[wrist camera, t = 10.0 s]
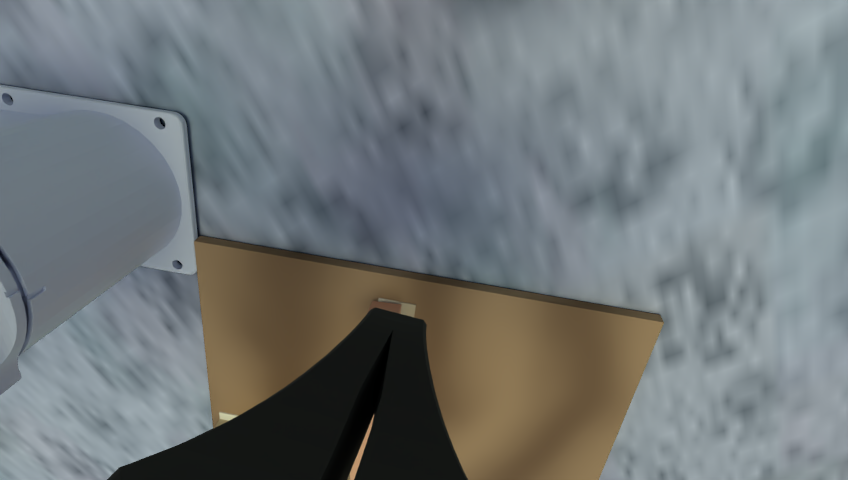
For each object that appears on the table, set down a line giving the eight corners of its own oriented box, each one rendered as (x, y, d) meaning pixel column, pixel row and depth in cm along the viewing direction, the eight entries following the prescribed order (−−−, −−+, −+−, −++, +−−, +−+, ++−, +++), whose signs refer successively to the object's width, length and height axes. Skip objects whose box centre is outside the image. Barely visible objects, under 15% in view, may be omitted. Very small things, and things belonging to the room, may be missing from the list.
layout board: (224, 481, 32) (219, 490, 31) (200, 235, 24) (192, 241, 23) (563, 551, 31) (564, 562, 30) (659, 314, 22) (664, 323, 22)
